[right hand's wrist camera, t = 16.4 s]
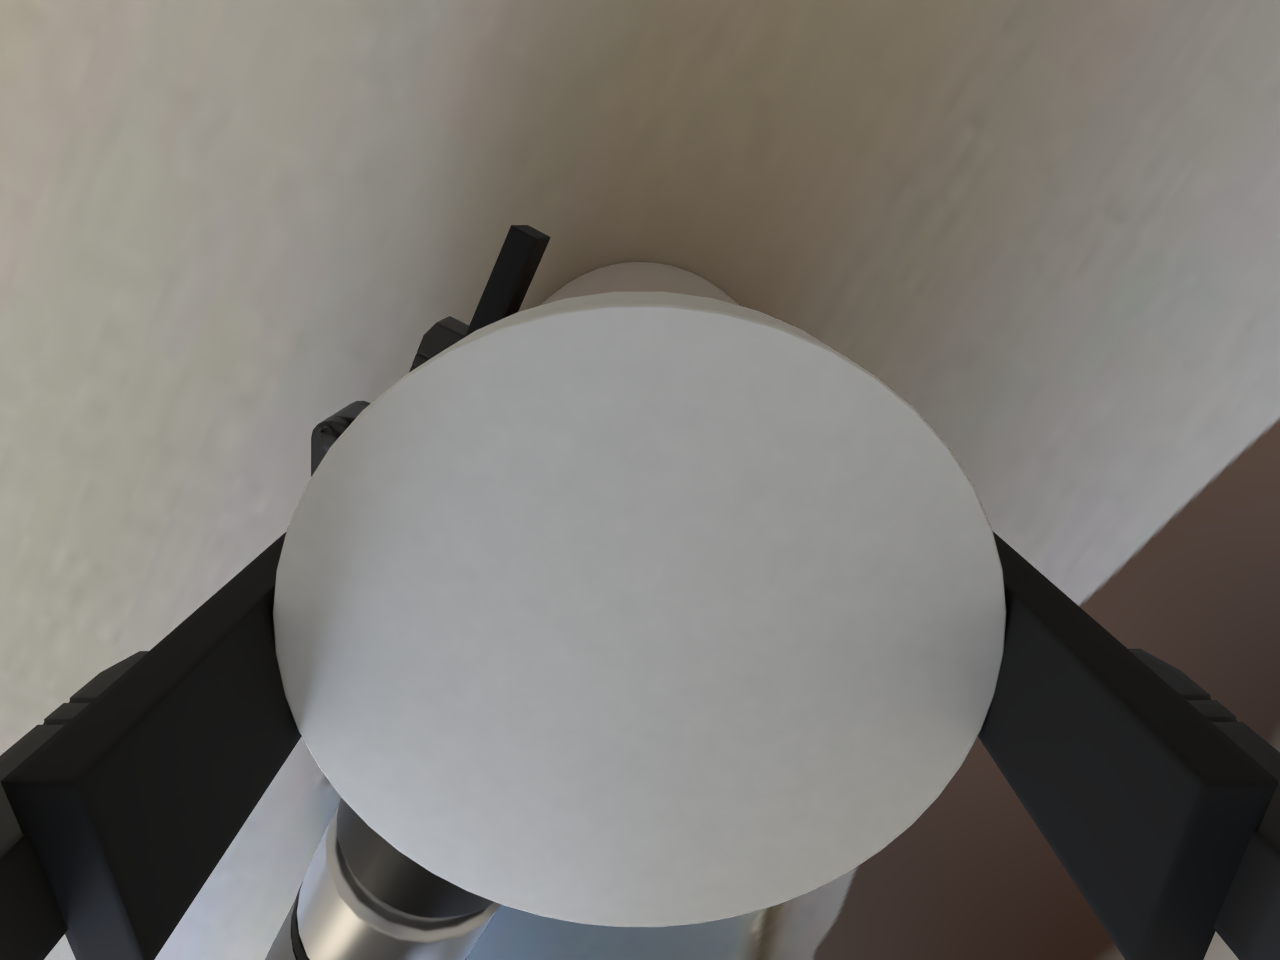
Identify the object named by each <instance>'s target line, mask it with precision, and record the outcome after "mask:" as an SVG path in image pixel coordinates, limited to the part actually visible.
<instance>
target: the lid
mask: <svg viewBox="0 0 1280 960" xmlns="http://www.w3.org/2000/svg"><path fill="white" fill-rule="evenodd" d="M273 622H274V636H275V650H276V656H277V661H278V665H279V670H280V674H281V678H282V683H283V687H284V692H285V696H286V699H287V702H288V704H289V707H290V709H291V712H292V714H293V717H294V720H295V722H296V725H297V727H298V730H299V732H300V734H301V736H302V738H303V739H304V741H305V743H306V745H307V747H308V748H309V750H310V752H311V754H312V756H313V757H314V759H315V761H316V763H317V765H318V766H319V768H320V769H321V770H322V772H323V773H324V774H325V776H326V777H327V778H328V780H329V781H330V783H331V784H332V785H333V787H334V788H335V789H336V791H337V792H338V793H339V795H340V796H341V797H342V798H343V800H344V801H345V802H346V803H347V804H348V805H349V806H350V807H351V808H352V809H353V810H354V811H355V812H356V813H357V814H358V815H359V816H360V817H361V818H362V819H363V821H364V822H365V823H366V824H367V825H368V826H369V827H371V828H372V829H373V830H374V831H375V832H377V833H378V834H379V835H380V836H381V837H383V838H384V839H385V840H386V841H387V842H389V843H390V844H391V845H392V846H393V847H395V848H396V849H397V850H398V851H400V852H401V853H403V854H404V855H406V856H407V857H409V858H410V859H412V860H413V861H415V862H416V863H418V864H419V865H421V866H422V867H424V868H425V869H427V870H428V871H430V872H431V873H433V874H435V875H437V876H439V877H441V878H443V879H445V880H447V881H449V882H451V883H453V884H455V885H457V886H458V887H460V888H462V889H464V890H466V891H469V892H471V893H474V894H476V895H479V896H481V897H484V898H486V899H489V900H491V901H494V902H496V903H499V904H501V905H504V906H508V907H511V908H515V909H518V910H522V911H525V912H529V913H532V914H536V915H539V916H543V917H548V918H554V919H559V920H564V921H570V922H575V923H581V924H591V925H602V926H613V927H666V926H677V925H687V924H698V923H704V922H709V921H715V920H720V919H725V918H731V917H736V916H740V915H744V914H747V913H751V912H754V911H758V910H761V909H764V908H768V907H771V906H775V905H778V904H780V903H783V902H785V901H788V900H790V899H793V898H795V897H798V896H800V895H803V894H805V893H808V892H810V891H813V890H815V889H817V888H819V887H821V886H823V885H825V884H826V883H828V882H830V881H832V880H834V879H836V878H838V877H840V876H842V875H844V874H846V873H848V872H849V871H851V870H852V869H854V868H855V867H857V866H858V865H860V864H861V863H863V862H864V861H866V860H867V859H869V858H870V857H872V856H873V855H875V854H876V853H878V852H879V851H881V850H882V849H883V848H885V847H886V846H887V845H888V844H889V843H890V842H892V841H893V840H894V839H895V838H897V837H898V836H899V835H900V834H901V833H903V832H904V831H905V830H906V829H907V828H908V827H910V826H911V825H912V824H913V823H914V822H915V821H916V820H917V819H918V818H919V816H920V815H921V814H922V813H923V812H924V811H925V810H926V809H927V808H928V807H929V806H930V805H931V804H932V803H933V802H934V801H935V800H936V799H937V797H938V796H939V795H940V794H941V792H942V791H943V790H944V788H945V787H946V785H947V784H948V783H949V781H950V780H951V779H952V777H953V776H954V775H955V773H956V772H957V770H958V769H959V768H960V766H961V765H962V763H963V761H964V760H965V758H966V756H967V754H968V752H969V751H970V749H971V747H972V745H973V743H974V741H975V740H976V738H977V736H978V734H979V732H980V731H981V728H982V726H983V723H984V720H985V718H986V715H987V712H988V710H989V707H990V705H991V702H992V699H993V697H994V693H995V689H996V684H997V680H998V675H999V671H1000V666H1001V662H1002V657H1003V652H1004V640H1005V625H1006V604H1005V593H1004V582H1003V571H1002V566H1001V562H1000V559H999V555H998V551H997V547H996V543H995V539H994V535H993V531H992V527H991V525H990V523H989V520H988V518H987V516H986V514H985V511H984V509H983V507H982V504H981V502H980V500H979V497H978V495H977V493H976V491H975V488H974V486H973V484H972V483H971V481H970V480H969V478H968V477H967V475H966V473H965V472H964V470H963V469H962V467H961V466H960V464H959V462H958V461H957V459H956V458H955V456H954V455H953V453H952V452H951V450H950V448H949V447H948V445H947V444H946V443H945V442H944V441H943V440H942V439H941V438H940V436H939V435H938V434H937V433H936V432H935V431H934V430H933V429H932V427H931V426H930V425H929V424H928V423H927V422H926V421H925V420H924V418H923V417H922V416H921V415H920V414H919V413H918V412H917V410H916V409H915V408H913V407H912V406H911V405H910V404H909V403H907V402H906V401H905V400H904V399H903V398H901V397H900V396H899V395H898V394H897V393H895V392H894V391H893V390H892V389H891V388H889V387H888V386H887V385H886V384H885V383H883V382H882V381H881V380H880V379H879V378H877V377H876V376H875V375H873V374H872V373H870V372H869V371H867V370H865V369H864V368H862V367H861V366H859V365H858V364H856V363H855V362H853V361H852V360H850V359H848V358H847V357H845V356H844V355H842V354H841V353H839V352H837V351H836V350H834V349H833V348H831V347H829V346H828V345H826V344H824V343H823V342H821V341H819V340H818V339H816V338H815V337H813V336H811V335H810V334H808V333H806V332H805V331H803V330H801V329H799V328H797V327H794V326H792V325H790V324H788V323H785V322H783V321H781V320H778V319H776V318H774V317H771V316H769V315H767V314H764V313H762V312H760V311H757V310H753V309H750V308H746V307H742V306H739V305H735V304H732V303H728V302H724V301H721V300H717V299H714V298H708V297H700V296H693V295H685V294H678V293H670V292H608V293H601V294H594V295H587V296H579V297H572V298H566V299H562V300H558V301H555V302H551V303H548V304H544V305H541V306H537V307H533V308H530V309H526V310H523V311H519V312H517V313H515V314H513V315H510V316H508V317H506V318H503V319H501V320H499V321H497V322H494V323H492V324H490V325H487V326H485V327H483V328H480V329H478V330H476V331H474V332H473V333H471V334H470V335H468V336H466V337H465V338H463V339H461V340H460V341H458V342H457V343H455V344H453V345H452V346H450V347H449V348H447V349H445V350H444V351H442V352H440V353H439V354H437V355H436V356H434V357H433V358H431V359H429V360H428V361H426V362H425V363H423V364H422V365H420V366H419V367H417V368H416V369H414V370H412V371H411V372H409V373H408V374H406V375H405V376H403V377H402V378H401V379H399V380H398V381H397V382H396V383H395V384H393V385H392V386H391V387H390V388H389V389H388V390H386V391H385V392H384V393H383V394H382V395H380V396H379V397H378V398H377V399H376V400H374V401H373V402H372V403H371V404H370V405H369V406H367V407H366V408H365V409H364V410H363V411H362V412H361V413H360V414H359V415H358V416H357V418H356V419H355V420H354V421H353V422H352V423H351V424H350V426H349V427H348V428H347V429H346V430H345V431H344V432H343V434H342V435H341V436H340V437H339V438H338V439H337V440H336V441H335V443H334V444H333V445H332V446H331V447H330V449H329V450H328V452H327V454H326V455H325V457H324V458H323V460H322V461H321V463H320V465H319V466H318V468H317V469H316V471H315V472H314V474H313V476H312V477H311V479H310V480H309V482H308V483H307V485H306V487H305V489H304V491H303V493H302V496H301V498H300V500H299V503H298V505H297V507H296V510H295V512H294V514H293V517H292V519H291V521H290V524H289V526H288V528H287V532H286V536H285V540H284V544H283V548H282V552H281V556H280V560H279V564H278V568H277V573H276V585H275V596H274V608H273Z"/></svg>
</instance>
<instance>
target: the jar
mask: <svg viewBox="0 0 1280 960" xmlns="http://www.w3.org/2000/svg"><path fill="white" fill-rule="evenodd" d="M608 292H670V293H678V294H685V295H693V296H700V297H708V298H714V299H717V300H721V301H724V302H728V303H732V304H735V305H739V304H738V303H737V302H736V301H734V300H733V299H732V298H731V297H730V296H728V295H727V294H726V293H725V292H723V291H722V290H721V289H719V288H718V287H716V286H715V285H714V284H712V283H711V282H709V281H708V280H706V279H704V278H702V277H700V276H698V275H696V274H694V273H692V272H690V271H687V270H684V269H681V268H678V267H675V266H671V265H665V264H660V263H652V262H629V263H618V264H614V265H610V266H605V267H601V268H598V269H596V270H593V271H590V272H588V273H585V274H583V275H581V276H579V277H578V278H576V279H574V280H572V281H570V282H568V283H567V284H566V285H564V286H563V287H562V288H560V289H559V290H558V291H556V292H555V293H554V294H552V295H551V296H550V297H549V298H547V299H546V300H545V301H544V302H543V303H541V304H540V305H539V306H541V305H544V304H548V303H551V302H555V301H558V300H562V299H566V298H572V297H579V296H587V295H594V294H601V293H608ZM739 306H741V305H739Z"/></svg>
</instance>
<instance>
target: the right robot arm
mask: <svg viewBox="0 0 1280 960" xmlns="http://www.w3.org/2000/svg"><path fill="white" fill-rule="evenodd" d="M993 535H994V539H995V543H996V547H997V551H998V555H999V559H1000V562H1001V566H1002V571H1003V582H1004V593H1005V604H1006V625H1005V640H1004V652H1003V657H1002V662H1001V666H1000V671H999V675H998V680H997V684H996V689H995V693H994V697H993V699H992V702H991V705H990V707H989V710H988V712H987V715H986V718H985V720H984V723H983V726H982V728H981V731H980V732H979V734H978V737H979V738H980V740H981V741H982V743H983V744H984V746H985V747H986V749H987V751H988V752H989V753H990V755H991V757H992V758H993V760H994V761H995V763H996V764H997V766H998V767H999V769H1000V770H1001V772H1002V773H1003V775H1004V776H1005V778H1006V779H1007V781H1008V782H1009V784H1010V785H1011V787H1012V788H1013V790H1014V791H1015V793H1016V795H1017V796H1018V798H1019V799H1020V800H1021V802H1022V804H1023V805H1024V807H1025V808H1026V810H1027V811H1028V813H1029V814H1030V816H1031V817H1032V819H1033V820H1034V822H1035V823H1036V825H1037V826H1038V828H1039V829H1040V831H1041V832H1042V834H1043V835H1044V837H1045V839H1046V840H1047V841H1048V843H1049V845H1050V846H1051V848H1052V849H1053V851H1054V852H1055V854H1056V855H1057V857H1058V858H1059V860H1060V861H1061V863H1062V864H1063V866H1064V867H1065V869H1066V870H1067V872H1068V873H1069V875H1070V876H1071V878H1072V879H1073V881H1074V882H1075V884H1076V886H1077V887H1078V889H1079V890H1080V892H1081V893H1082V894H1083V896H1084V898H1085V899H1086V901H1087V902H1088V904H1089V905H1090V907H1091V908H1092V910H1093V911H1094V913H1095V914H1096V916H1097V917H1098V919H1099V920H1100V922H1101V923H1102V925H1103V926H1104V928H1105V930H1106V931H1107V932H1108V934H1109V936H1110V937H1111V939H1112V940H1113V942H1114V943H1115V945H1116V946H1117V948H1118V949H1119V951H1120V952H1121V954H1122V955H1123V957H1124V958H1125V960H1203V959H1204V957H1205V954H1206V952H1207V950H1208V947H1209V945H1210V943H1211V940H1212V938H1213V936H1214V933H1215V931H1216V932H1217V933H1218V934H1219V935H1220V937H1221V938H1222V939H1223V940H1224V942H1225V943H1226V944H1227V945H1228V946H1229V948H1230V949H1231V950H1232V951H1233V953H1234V954H1235V955H1236V956H1237V957H1238V959H1239V960H1280V753H1279V752H1278V751H1277V750H1276V749H1275V748H1273V747H1272V746H1271V745H1270V744H1269V743H1267V742H1266V741H1265V740H1264V739H1263V738H1261V737H1260V736H1259V735H1258V734H1256V733H1255V732H1254V731H1253V730H1252V729H1250V728H1249V727H1248V726H1247V725H1246V724H1244V723H1243V722H1237V720H1236V716H1235V715H1234V714H1232V713H1231V712H1230V711H1229V710H1227V709H1226V708H1225V707H1224V706H1223V705H1221V704H1220V703H1219V702H1218V701H1216V700H1211V698H1210V695H1209V694H1208V693H1207V692H1206V691H1205V690H1203V689H1202V688H1201V687H1200V686H1198V685H1197V684H1196V683H1195V682H1194V681H1192V680H1191V679H1190V678H1189V677H1188V676H1186V675H1185V674H1184V673H1183V672H1182V671H1180V670H1179V669H1177V668H1175V667H1173V666H1171V665H1169V664H1167V663H1166V662H1164V661H1162V660H1160V659H1158V658H1156V657H1155V656H1153V655H1151V654H1149V653H1147V652H1145V651H1143V650H1141V649H1127V648H1126V647H1125V646H1124V645H1122V644H1121V643H1120V642H1119V641H1118V640H1117V639H1116V638H1114V637H1113V636H1112V635H1111V634H1110V633H1109V632H1108V631H1106V630H1105V629H1104V628H1103V627H1102V626H1101V625H1100V624H1098V623H1097V622H1096V621H1095V620H1094V619H1093V618H1091V617H1090V616H1089V615H1088V614H1087V613H1086V612H1085V611H1083V610H1082V609H1081V608H1080V607H1079V606H1078V605H1077V604H1075V603H1074V602H1073V601H1072V600H1071V599H1070V598H1069V597H1067V596H1066V595H1065V594H1064V593H1063V592H1062V591H1061V590H1059V589H1058V588H1057V587H1056V586H1055V585H1054V584H1053V583H1051V582H1050V581H1049V580H1048V579H1047V578H1046V577H1044V576H1043V575H1042V574H1041V573H1040V572H1039V571H1038V570H1036V569H1035V568H1034V567H1033V566H1032V565H1031V564H1030V563H1028V562H1027V561H1026V560H1025V559H1024V558H1023V557H1022V556H1020V555H1019V554H1018V553H1017V552H1016V551H1015V550H1014V549H1012V548H1011V547H1010V546H1009V545H1008V544H1007V543H1006V542H1004V541H1003V540H1002V539H1001V538H1000V537H999V536H998V535H996V534H995V533H994V532H993ZM285 536H286V532H285V533H284V534H283V535H282V536H281V537H280V538H279V539H277V540H276V541H275V542H274V543H273V544H272V545H271V546H269V547H268V548H267V549H266V550H265V551H264V552H263V553H261V554H260V555H259V556H258V557H257V558H256V559H254V560H253V561H252V562H251V563H250V564H249V565H248V566H246V567H245V568H244V569H243V570H242V571H241V572H240V573H238V574H237V575H236V576H235V577H234V578H233V579H232V580H230V581H229V582H228V583H227V584H226V585H225V586H224V587H222V588H221V589H220V590H219V591H218V592H217V593H216V594H214V595H213V596H212V597H211V598H210V599H209V600H208V601H206V602H205V603H204V604H203V605H202V606H201V607H199V608H198V609H197V610H196V611H195V612H194V613H193V614H191V615H190V616H189V617H188V618H187V619H186V620H185V621H183V622H182V623H181V624H180V625H179V626H178V627H177V628H175V629H174V630H173V631H172V632H171V633H170V634H169V635H167V636H166V637H165V638H164V639H163V640H162V641H161V642H159V643H158V644H157V645H156V646H155V647H154V648H152V649H151V650H150V651H139V652H138V653H136V654H134V655H132V656H130V657H128V658H127V659H125V660H123V661H121V662H119V663H117V664H115V665H114V666H112V667H110V668H108V669H106V670H104V671H103V672H101V673H99V674H98V675H97V676H96V677H95V678H93V679H92V680H91V681H90V682H89V683H87V684H86V685H85V686H84V687H83V688H81V689H80V690H79V691H78V692H77V693H75V694H74V695H73V696H72V697H71V698H70V702H69V703H63V704H62V705H61V706H60V707H58V708H57V709H56V710H55V711H54V712H52V713H51V714H50V715H49V716H48V717H46V718H45V719H44V724H43V725H37V726H36V727H34V728H33V729H32V730H31V731H30V732H28V733H27V734H26V735H25V736H24V737H22V738H21V739H20V740H19V741H18V742H16V743H15V744H14V745H13V746H12V747H10V748H9V749H8V750H7V751H6V752H4V753H3V754H2V755H1V756H0V960H44V959H45V957H46V956H47V955H48V954H49V952H50V951H51V950H52V949H53V947H54V946H55V945H56V944H57V943H58V941H59V940H60V939H61V938H62V936H63V935H64V934H65V935H66V937H67V939H68V942H69V944H70V946H71V949H72V951H73V954H74V956H75V958H76V960H154V959H155V958H156V956H157V955H158V953H159V952H160V950H161V949H162V947H163V946H164V944H165V942H166V941H167V939H168V938H169V936H170V935H171V933H172V932H173V930H174V929H175V927H176V926H177V924H178V923H179V921H180V920H181V918H182V917H183V915H184V914H185V912H186V911H187V909H188V908H189V906H190V905H191V903H192V902H193V900H194V898H195V897H196V895H197V894H198V892H199V891H200V889H201V888H202V886H203V885H204V883H205V882H206V880H207V879H208V877H209V876H210V874H211V873H212V871H213V870H214V868H215V867H216V865H217V864H218V862H219V861H220V859H221V858H222V856H223V855H224V853H225V851H226V850H227V848H228V847H229V845H230V844H231V842H232V841H233V839H234V838H235V836H236V835H237V833H238V832H239V830H240V829H241V827H242V826H243V824H244V823H245V821H246V820H247V818H248V817H249V815H250V814H251V812H252V811H253V809H254V807H255V806H256V804H257V803H258V801H259V800H260V798H261V797H262V795H263V794H264V792H265V791H266V789H267V788H268V786H269V785H270V783H271V782H272V780H273V779H274V777H275V776H276V774H277V773H278V771H279V770H280V768H281V767H282V765H283V763H284V762H285V760H286V759H287V757H288V756H289V754H290V753H291V751H292V750H293V748H294V747H295V745H296V744H297V742H298V741H299V739H300V738H301V734H300V732H299V730H298V727H297V725H296V722H295V720H294V717H293V714H292V712H291V709H290V707H289V704H288V702H287V699H286V696H285V692H284V687H283V683H282V678H281V674H280V670H279V665H278V661H277V656H276V650H275V636H274V622H273V608H274V596H275V585H276V573H277V568H278V564H279V560H280V556H281V552H282V548H283V544H284V540H285Z"/></svg>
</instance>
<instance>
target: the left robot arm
mask: <svg viewBox="0 0 1280 960" xmlns="http://www.w3.org/2000/svg"><path fill="white" fill-rule="evenodd" d="M549 240H550V237H549V236H547V235H545V234H543V233H541V232H539V231H538V230H536V229H534V228H532V227H530V226H528V225H511V228H510V230H509V232H508V235H507V237H506V240H505V242H504V244H503V247H502V249H501V252H500V254H499V256H498V259H497V261H496V264H495V266H494V268H493V271H492V273H491V275H490V278H489V280H488V283H487V285H486V287H485V290H484V292H483V295H482V297H481V299H480V302H479V304H478V307H477V309H476V311H475V314H474V316H473V319H472V321H471V323H470V326H468V325H466V324H464V323H462V322H460V321H458V320H456V319H454V318H452V317H450V316H449V317H447V318H445V319H443V320H441V321H439V322H437V323H436V324H435V325H434V326H433V327H432V328H431V329H430V330H429V331H428V332H427V333H426V334H425V335H424V336H423V339H422V341H421V344H420V346H419V349H418V351H417V354H416V356H415V359H414V361H413V364H412V367H411V369H410V371H409V372H411V371H412V370H414V369H416V368H417V367H419V366H420V365H422V364H423V363H425V362H426V361H428V360H429V359H431V358H433V357H434V356H436V355H437V354H439V353H440V352H442V351H444V350H445V349H447V348H449V347H450V346H452V345H453V344H455V343H457V342H458V341H460V340H461V339H463V338H465V337H466V336H468V335H470V334H471V333H473V332H474V331H476V330H478V329H480V328H483V327H485V326H487V325H490V324H492V323H494V322H497V321H499V320H501V319H503V318H506V317H508V316H510V315H513V314H515V313H517V312H518V310H519V308H520V306H521V304H522V301H523V299H524V297H525V294H526V292H527V290H528V288H529V285H530V283H531V281H532V278H533V276H534V274H535V272H536V269H537V267H538V265H539V263H540V260H541V258H542V256H543V253H544V251H545V249H546V247H547V244H548V242H549ZM370 404H371V403H368V402H365V401H356V402H354V403H352V404H350V405H348V406H347V407H345V408H343V409H342V410H340V411H339V412H337V413H335V414H334V415H332V416H331V417H329V418H327V419H326V420H324V421H323V422H321V423H319V424H318V425H317V426H316V427H315V428H314V430H313V433H312V437H311V477H312V476H313V474H314V472H315V471H316V469H317V468H318V466H319V465H320V463H321V461H322V460H323V458H324V457H325V455H326V454H327V452H328V450H329V449H330V447H331V446H332V445H333V444H334V443H335V441H336V440H337V439H338V438H339V437H340V436H341V435H342V434H343V432H344V431H345V430H346V429H347V428H348V427H349V426H350V424H351V423H352V422H353V421H354V420H355V419H356V418H357V416H358V415H359V414H360V413H361V412H362V411H363V410H364V409H365V408H366V407H367V406H369V405H370ZM499 906H500V904H499V903H496V902H494V901H491V900H489V899H486V898H484V897H481V896H479V895H476V894H474V893H471V892H469V891H466V890H464V889H462V888H460V887H458V886H457V885H455V884H453V883H451V882H449V881H447V880H445V879H443V878H441V877H439V876H437V875H435V874H433V873H431V872H430V871H428V870H427V869H425V868H424V867H422V866H421V865H419V864H418V863H416V862H415V861H413V860H412V859H410V858H409V857H407V856H406V855H404V854H403V853H401V852H400V851H398V850H397V849H396V848H395V847H393V846H392V845H391V844H390V843H389V842H387V841H386V840H385V839H384V838H383V837H381V836H380V835H379V834H378V833H377V832H375V831H374V830H373V829H372V828H371V827H369V826H368V825H367V824H366V823H365V822H364V821H363V819H362V818H361V817H360V816H359V815H358V814H357V813H356V812H355V811H354V810H353V809H352V808H351V807H350V806H349V805H348V804H347V803H346V802H345V801H344V800H343V798H342V797H341V799H340V803H339V805H338V807H337V809H336V810H335V812H334V814H333V816H332V818H331V820H330V822H329V824H328V826H327V828H326V830H325V833H324V835H323V837H322V839H321V841H320V843H319V845H318V848H317V850H316V852H315V854H314V856H313V858H312V860H311V863H310V865H309V867H308V869H307V871H306V874H305V877H304V880H303V882H302V884H301V887H300V889H299V891H298V894H297V897H296V900H295V902H294V904H293V906H292V908H291V910H290V911H289V913H288V915H287V917H286V919H285V921H284V923H283V925H282V927H281V929H280V931H279V933H278V935H277V937H276V939H275V941H274V942H273V945H272V947H271V949H270V951H269V953H268V955H267V957H266V959H265V960H466V958H467V956H468V955H469V953H470V952H471V950H472V949H473V947H474V945H475V944H476V942H477V941H478V939H479V938H480V936H481V934H482V933H483V931H484V930H485V928H486V927H487V925H488V923H489V922H490V920H491V919H492V917H493V915H494V914H495V912H496V911H497V909H498V907H499Z"/></svg>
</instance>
